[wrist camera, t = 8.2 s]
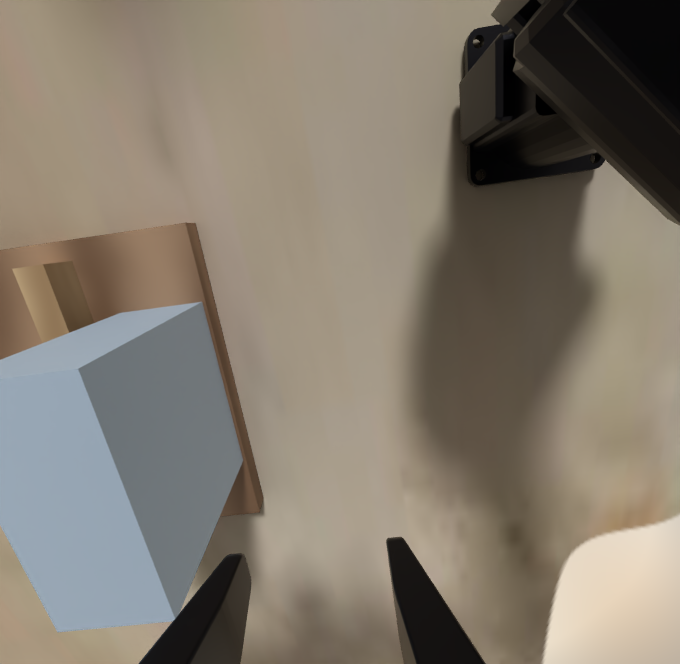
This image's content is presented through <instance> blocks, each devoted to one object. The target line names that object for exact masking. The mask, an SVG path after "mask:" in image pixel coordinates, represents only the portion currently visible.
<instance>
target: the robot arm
mask: <svg viewBox="0 0 680 664" xmlns="http://www.w3.org/2000/svg"><path fill="white" fill-rule="evenodd" d="M491 15H492V16H493V17H494V18H495V19H496V20H497V21H498V22H499V23H500V25H494V26H488V27H482V28H477V29H475V30H473V31H472V32H471V33H470V35H469V36H468V38H467V39H466V42H465V46H464V59H465V77H464V78H463V79H462V81H461V82H460V84H459V89H460V121H461V141H462V143H463V144H464V145H466V146H467V170H468V181H469V183H470V184H471V185H473V186H476V187H479V186H486V185H492V184H499V183H506V182H513V181H520V180H527V179H533V178H540V177H547V176H554V175H561V174H568V173H574V172H581V171H588V170H593V169H596V168H599V167H600V166H601V165H602V164H603V163H604V161H605V160H606V161H607V162H608V163H609V164H610V165H611V166H613V167H614V168H615V169H616V170H617V171H618V172H619V173H620V174H621V175H622V176H623V177H624V178H625V179H626V180H627V181H628V182H629V183H630V184H631V185H632V186H633V187H635V188H636V189H637V190H638V191H639V192H640V193H641V194H642V195H643V196H644V197H645V198H646V199H647V200H648V201H649V202H650V203H651V204H652V205H653V206H654V207H655V208H657V209H658V210H659V211H660V212H661V213H662V214H663V215H664V216H665V217H666V218H667V219H669V220H670V221H672V222H674V223H676V224H678V225H680V0H501V1H500V3H499V4H498V6H497V7H496V9H495V10H494V11H493V13H492V14H491ZM475 39H477V40H479V41H480V43H481V47H480V48H475V47H474V46H473V40H475ZM592 154H593V155H594V156H595V160H594V162H593V163H591V162H590V156H591V155H592ZM477 171H481V172H482V174H483V177H482V179H481V180H478V179H476V172H477ZM386 544H387V551H388V559H389V567H390V575H391V582H392V589H393V596H394V604H395V611H396V618H397V625H398V633H399V639H400V645H401V651H402V655H403V660H404V664H486V663H485V662H484V660H483V659H482V657H481V656H480V654H479V653H478V651H477V650H476V648H475V647H474V645H473V644H472V642H471V640H470V639H469V637H468V636H467V634H466V633H465V631H464V630H463V628H462V627H461V625H460V624H459V622H458V621H457V619H456V618H455V616H454V615H453V613H452V612H451V610H450V608H449V607H448V605H447V604H446V602H445V601H444V599H443V598H442V596H441V595H440V593H439V592H438V590H437V589H436V587H435V586H434V584H433V583H432V581H431V580H430V578H429V576H428V575H427V573H426V572H425V570H424V569H423V567H422V566H421V564H420V563H419V561H418V560H417V558H416V557H415V555H414V554H413V552H412V551H411V549H410V548H409V546H408V544H407V543H406V541H405V540H404V539H403V538H402V537H393V538H388V539H387V540H386ZM250 591H251V576H250V572H249V569H248V565H247V562H246V558H245V556H244V554H242V553H239V554H230V555H227V556H226V557H225V558H224V559H223V560H222V562H221V563H220V564H219V565H218V567H217V568H216V569H215V570H214V571H213V573H212V574H211V575H210V576H209V578H208V579H207V580H206V581H205V583H204V584H203V585H202V586H201V587H200V589H199V590H198V591H197V592H196V594H195V595H194V596H193V597H192V599H191V600H190V601H189V602H188V603H187V605H186V606H185V607H184V608H183V610H182V611H181V612H180V613H179V615H178V616H177V617H176V618H175V619H174V621H173V622H172V623H171V624H170V626H169V627H168V628H167V629H166V631H165V632H164V633H163V634H162V635H161V637H160V638H159V639H158V640H157V642H156V643H155V644H154V645H153V647H152V648H151V649H150V650H149V651H148V653H147V654H146V655H145V656H144V658H143V659H142V660H141V661H140V663H139V664H240V662H241V656H242V649H243V642H244V635H245V628H246V620H247V613H248V606H249V599H250Z"/></svg>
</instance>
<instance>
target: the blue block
mask: <svg viewBox="0 0 680 664" xmlns="http://www.w3.org/2000/svg"><path fill="white" fill-rule="evenodd" d="M242 462H243V458H242V454H241V450H240V446H239V442H238V438H237V434H236V431H235V427H234V423H233V419H232V415H231V411H230V407H229V404H228V400H227V396H226V392H225V388H224V384H223V380H222V377H221V373H220V369H219V365H218V361H217V357H216V353H215V349H214V346H213V342H212V338H211V334H210V330H209V326H208V322H207V319H206V315H205V311H204V307H203V303H202V302H197V303H189V304H182V305H175V306H167V307H160V308H153V309H145V310H138V311H131V312H123V313H119V314H116V315H114V316H111V317H109V318H106V319H103V320H101V321H98V322H96V323H93V324H91V325H88V326H86V327H83V328H80V329H78V330H75V331H73V332H70V333H68V334H65V335H63V336H60V337H57V338H55V339H52V340H50V341H47V342H45V343H42V344H39V345H37V346H34V347H32V348H29V349H27V350H24V351H22V352H19V353H16V354H14V355H11V356H9V357H6V358H4V359H1V360H0V525H1V527H2V529H3V531H4V533H5V535H6V537H7V539H8V540H9V542H10V544H11V546H12V548H13V550H14V552H15V553H16V555H17V557H18V559H19V561H20V563H21V565H22V567H23V568H24V570H25V572H26V574H27V576H28V578H29V580H30V582H31V583H32V585H33V587H34V589H35V591H36V593H37V595H38V596H39V598H40V600H41V602H42V604H43V606H44V608H45V610H46V611H47V613H48V615H49V617H50V619H51V621H52V623H53V624H54V626H55V628H56V630H57V632H65V631H76V630H86V629H97V628H107V627H118V626H128V625H139V624H149V623H160V622H170V621H174V619H175V618H176V617H177V616H178V615H179V612H180V610H181V608H182V605H183V603H184V600H185V598H186V596H187V593H188V591H189V588H190V586H191V584H192V581H193V579H194V577H195V574H196V572H197V569H198V567H199V565H200V562H201V560H202V558H203V555H204V553H205V550H206V548H207V546H208V543H209V541H210V538H211V536H212V534H213V531H214V529H215V527H216V524H217V522H218V519H219V517H220V515H221V512H222V510H223V507H224V505H225V503H226V500H227V498H228V496H229V493H230V491H231V488H232V486H233V484H234V481H235V479H236V476H237V474H238V472H239V469H240V467H241V465H242Z"/></svg>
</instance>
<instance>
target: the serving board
mask: <svg viewBox="0 0 680 664" xmlns="http://www.w3.org/2000/svg"><path fill="white" fill-rule="evenodd" d="M197 302H202V303H203V307H204V311H205V315H206V319H207V322H208V326H209V330H210V334H211V338H212V342H213V346H214V349H215V353H216V357H217V361H218V365H219V369H220V373H221V377H222V380H223V384H224V388H225V392H226V396H227V400H228V404H229V407H230V411H231V415H232V419H233V423H234V427H235V431H236V434H237V438H238V442H239V446H240V450H241V454H242V458H243V462H242V465H241V467H240V469H239V472H238V474H237V476H236V479H235V481H234V484H233V486H232V488H231V491H230V493H229V496H228V498H227V500H226V503H225V505H224V507H223V510H222V512H221V515H220V516H230V515H239V514H248V513H257V512H260V509H261V505H262V502H263V494H262V490H261V486H260V482H259V478H258V474H257V470H256V466H255V462H254V458H253V454H252V450H251V446H250V442H249V438H248V434H247V430H246V426H245V422H244V418H243V414H242V410H241V406H240V402H239V398H238V394H237V390H236V386H235V382H234V378H233V373H232V369H231V365H230V361H229V357H228V353H227V349H226V345H225V341H224V337H223V333H222V329H221V325H220V321H219V317H218V313H217V309H216V305H215V301H214V297H213V293H212V289H211V285H210V281H209V277H208V273H207V269H206V265H205V261H204V257H203V253H202V248H201V244H200V240H199V236H198V232H197V228H196V224H195V223H181V224H175V225H168V226H161V227H154V228H148V229H141V230H134V231H127V232H120V233H114V234H107V235H100V236H93V237H86V238H80V239H73V240H66V241H59V242H52V243H46V244H39V245H32V246H25V247H18V248H12V249H5V250H0V360H1V359H4V358H6V357H9V356H11V355H14V354H16V353H19V352H22V351H24V350H27V349H29V348H32V347H34V346H37V345H39V344H42V343H45V342H47V341H50V340H52V339H55V338H57V337H60V336H63V335H65V334H68V333H70V332H73V331H75V330H78V329H80V328H83V327H86V326H88V325H91V324H93V323H96V322H98V321H101V320H103V319H106V318H109V317H111V316H114V315H116V314H119V313H123V312H131V311H138V310H145V309H153V308H160V307H167V306H175V305H182V304H189V303H197Z"/></svg>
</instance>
